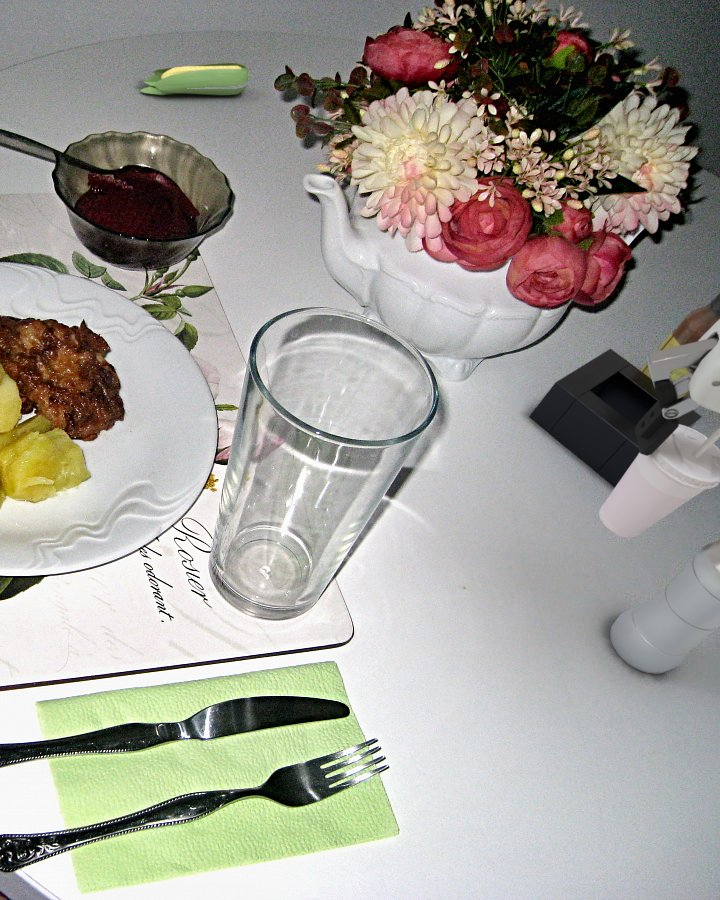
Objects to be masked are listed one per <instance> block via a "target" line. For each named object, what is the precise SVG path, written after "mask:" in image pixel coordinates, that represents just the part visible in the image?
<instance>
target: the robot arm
mask: <svg viewBox="0 0 720 900" xmlns="http://www.w3.org/2000/svg"><path fill="white" fill-rule="evenodd" d="M646 363H648V368H649V372H650V375H651V379H652V382H653V385H654V389H655V393H656V396H657V399H658V401H657V402H656V403H655V404H654V406H653V407H652V408H651V409H650V410H649V411H648V412H647V413H646V414H645V415H644V416H643V418H642V419H641V420H640V421H639V422H638V423H637V425H636V428H635V432H636V436H637V439H638V445H639V451H640V454H643V455H646V456H648V455H651V454H652V453H653V452H654V451H655V450H656V449H657V448H658V447H659V446H660V445H661V444H662V443H663V442H664V441H665V440H666V439H667V438H668V437H669V436H670V435H671V434H672V433H673V432H674V431H675V430H676V429H677V428H678V426H679V420H678V417H680V416H682V415H684V414H686V413H688V412H690V411H692V410H694V411H695V410H697V409H698V408H700V407H702V408H705V409H707V410H709V411H712V412H715V413H719V414H720V319H719V320H718V321H717V322H716V323H715V324H714V325H713V326H712V327H711V328H710V329H709V330H708V331H707V332H706V333H705V334H704V335H703V336H702V337H701V338H700V339H699V341H698V342H693V343H689V344H685V345H680V346H676V347H672V348H668V349H663V350H659V351H657V350H656V351H651V352H649V353H648V354H647V355H646ZM681 368H686V369H687V370H688V371H690V372H689V373H687V374H685V375H683V376H681V377H679V378H678V379H676V380H674V381H672V379H671V375H670V373H671V372H672V371H673V370H676V369H681ZM688 391H690V393H689V394H687V395H685V396H683V397H681V398H679V399H678V396H680V395H682V394H684V393H686V392H688Z"/></svg>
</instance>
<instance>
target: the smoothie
mask: <svg viewBox="0 0 720 900" xmlns="http://www.w3.org/2000/svg"><path fill="white" fill-rule="evenodd" d="M718 440H720V426H718V428H717V429H715V431H713V432H712V433H711V435H709V437H707V436H706V435H704V434H703V433H701V432H699V431H697V430H696V429H694V428H693V427H692V428H689V427H687V426H684V425H680V424H679V426H678V428H677V429H676V430H675V431H674V432H673V433H672V434H671V435H670V436H669V437H668V438H667V439H666V440H665V441H664V442H663V443H662V444H661V445H660V446H659V447H658V448H657V449H656V450H655V451H654V452H653V453H652V454H651V455H648V456H646V455H643V454H640V452H639V454H638V456H637V457H636V458H635V460H634V461H633V463H632V464H631V466H630V467H629V468H628V470H627V471H626V473H625V474H624V476H623V477H622V478H621V480H620V481H619V483H618V484H617V485H616V487H615V488H614V487H613V489H612V491H611V492H610V494H609V495H608V497H607V499H605V501H604V502H603V504H602V505H601V507H600V508H599V511H598V514H599V519H600V521H601V522H602V524H603V526H605V527H606V529H608V530H609V531H610V532H612V533H613V534H615V535H617V536H619V537H622V538H626V539H632V538H636V537H638V536H639V535H640V534H642V533H643V532H645V531H646V530H648V529H649V528H651V527H652V526H653V525H655V524H656V523H658V522H659V521H661V520H662V519H663V518H665V517H667V516H668V515H669V514H671V513H673V512H674V511H675V510H677V509H678V508H680V507H681V506H682V505H684V504H685V503H687V502H688V501H690V500H692V499H693V498H695V497H696V496H698V495H699V494H701V493H702V492H703V491H705V490H710V489H713V488H717V486H718V485H719V484H720V448H719V447H718V446H717V445H716V442H717V441H718Z"/></svg>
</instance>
